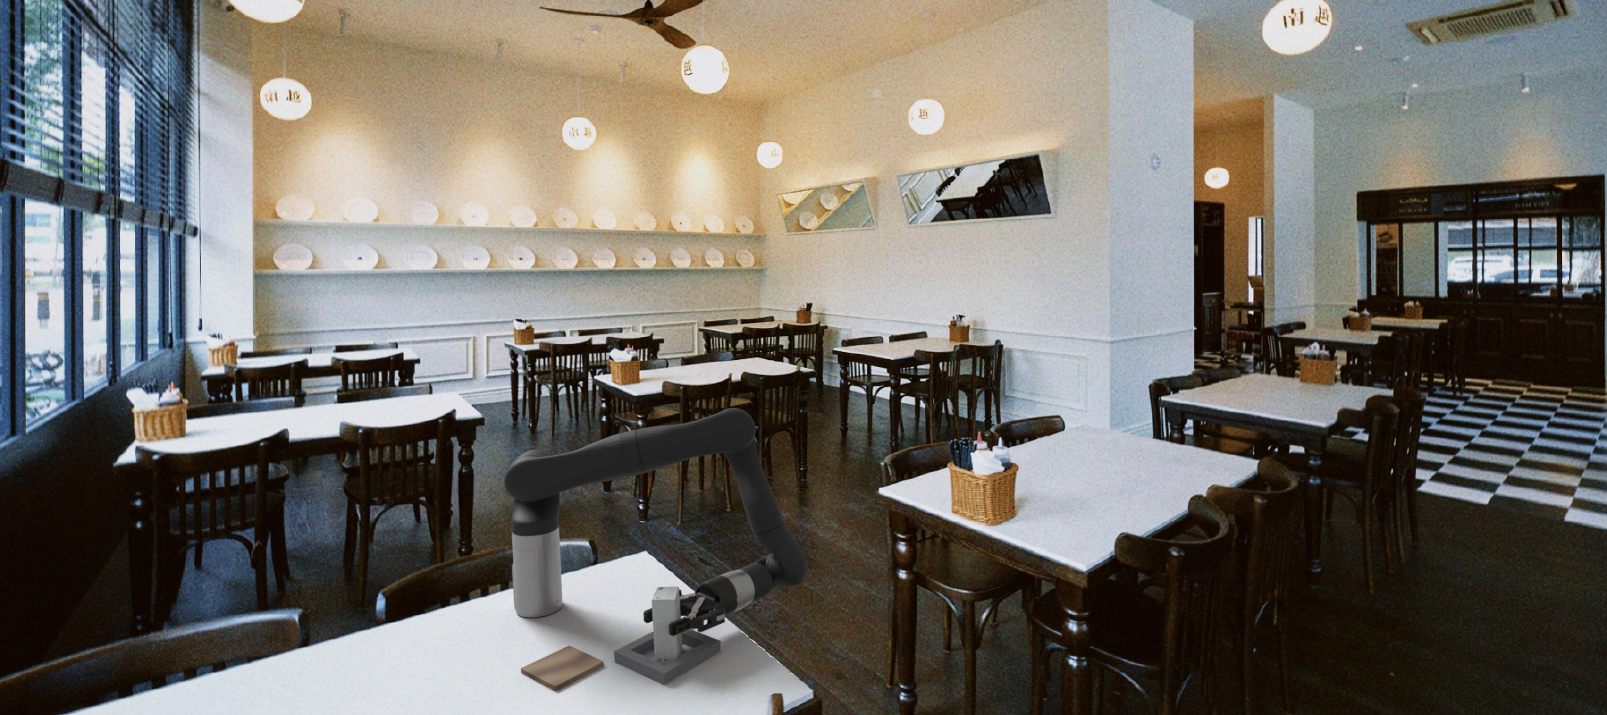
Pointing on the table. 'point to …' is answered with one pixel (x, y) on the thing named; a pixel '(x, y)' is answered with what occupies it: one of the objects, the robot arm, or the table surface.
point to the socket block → (666, 673)
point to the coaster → (562, 667)
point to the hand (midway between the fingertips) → (657, 623)
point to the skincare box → (666, 624)
